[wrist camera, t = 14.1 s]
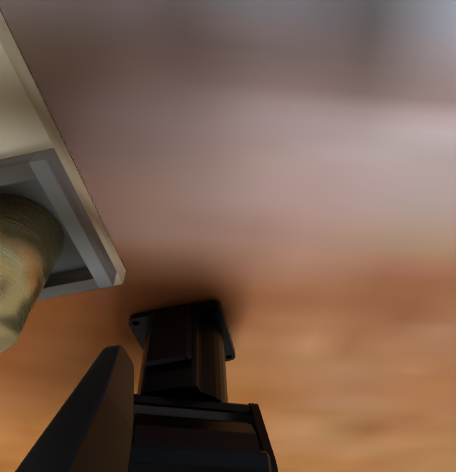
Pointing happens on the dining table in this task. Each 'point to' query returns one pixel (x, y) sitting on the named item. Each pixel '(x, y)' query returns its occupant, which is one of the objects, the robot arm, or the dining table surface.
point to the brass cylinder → (24, 260)
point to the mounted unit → (50, 180)
